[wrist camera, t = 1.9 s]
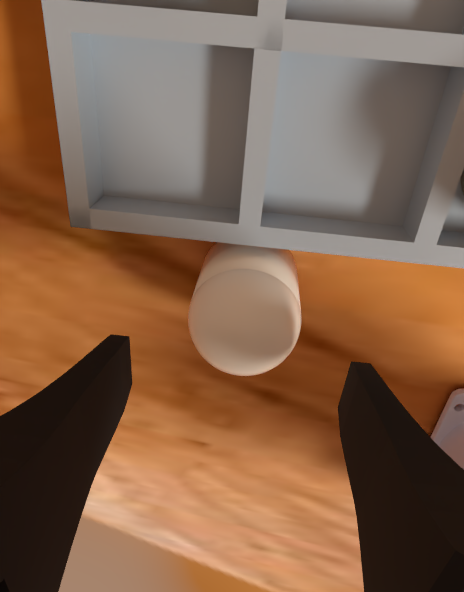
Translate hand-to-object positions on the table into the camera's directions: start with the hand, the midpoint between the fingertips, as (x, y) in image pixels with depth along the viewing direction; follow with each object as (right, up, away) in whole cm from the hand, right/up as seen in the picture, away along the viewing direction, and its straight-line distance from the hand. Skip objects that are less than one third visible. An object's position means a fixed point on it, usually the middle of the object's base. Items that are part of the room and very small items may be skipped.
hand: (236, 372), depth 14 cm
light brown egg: (+1, +3, +6) cm, 7 cm away
